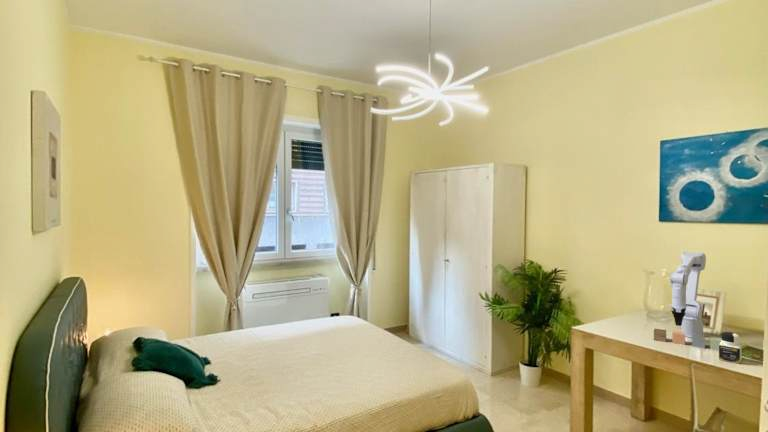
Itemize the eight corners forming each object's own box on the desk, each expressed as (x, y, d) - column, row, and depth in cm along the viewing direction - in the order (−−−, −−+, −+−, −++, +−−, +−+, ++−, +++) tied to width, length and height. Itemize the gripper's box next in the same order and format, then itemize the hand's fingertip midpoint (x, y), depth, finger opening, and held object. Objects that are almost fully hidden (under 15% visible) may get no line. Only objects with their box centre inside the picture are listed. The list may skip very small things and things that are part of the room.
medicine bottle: (718, 360, 182) (718, 333, 182) (720, 355, 188) (721, 329, 187) (739, 364, 177) (740, 336, 177) (741, 359, 182) (741, 333, 182)
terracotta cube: (672, 340, 209) (672, 331, 209) (685, 342, 206) (685, 332, 206) (672, 343, 205) (672, 333, 205) (684, 345, 202) (684, 335, 202)
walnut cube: (654, 337, 214) (654, 328, 214) (666, 339, 211) (666, 330, 211) (653, 340, 210) (653, 330, 210) (665, 342, 207) (665, 332, 207)
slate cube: (691, 343, 204) (692, 333, 204) (704, 345, 201) (704, 335, 201) (691, 346, 200) (691, 336, 200) (704, 348, 197) (704, 338, 197)
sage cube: (710, 347, 199) (710, 336, 199) (723, 349, 196) (723, 338, 196) (710, 349, 195) (710, 339, 195) (724, 352, 192) (724, 341, 192)
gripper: (669, 293, 213) (669, 319, 214) (668, 298, 202) (668, 325, 202) (686, 294, 209) (686, 321, 209) (686, 300, 198) (686, 328, 198)
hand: (678, 323), depth 205 cm, fingers open, 7 cm apart
